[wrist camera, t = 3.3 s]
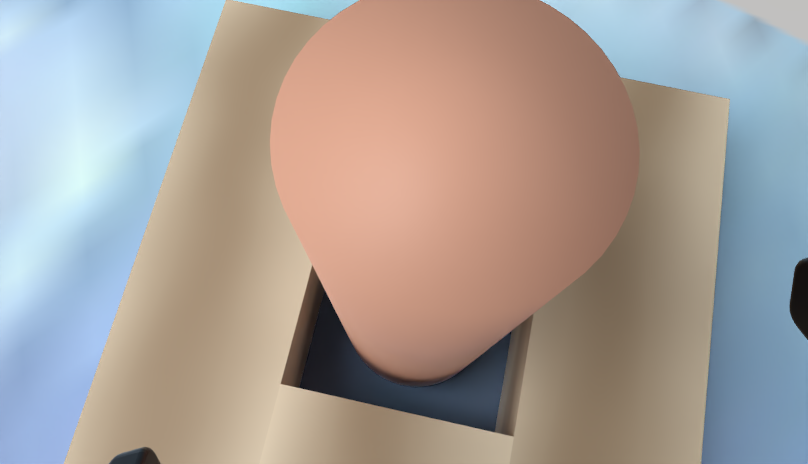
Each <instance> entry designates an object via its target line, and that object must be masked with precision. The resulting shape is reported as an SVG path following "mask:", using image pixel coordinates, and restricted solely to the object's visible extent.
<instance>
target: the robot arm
mask: <svg viewBox="0 0 808 464" xmlns="http://www.w3.org/2000/svg"><path fill="white" fill-rule="evenodd" d="M790 313H791V317H792V319H793V321H794V323H795V324H796V326H797V327H798V328H799V329H800V331H801V332H802V333H803V335H804V336H805V337H806V338H807V340H808V258H805V259H802V260H801V261H799V262H798V264H797V265H796V267H795V271H794V278H793V285H792V292H791V299H790ZM109 464H161V463H160V461H159V459H158V457H157V455H156V454H155V452H154V451H153V450H152V449H151V448H149V447H141V448H138V449H134V450H131V451H127V452H124V453H120V454H118V455H116V456H115V457H114V458H113V459H112V460H111V461H110V463H109Z"/></svg>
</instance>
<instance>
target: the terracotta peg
mask: <svg viewBox="0 0 808 464" xmlns="http://www.w3.org/2000/svg"><path fill="white" fill-rule="evenodd" d="M270 154H271V166H272V171H273V175H274V180H275V185H276V188H277V191H278V194H279V197H280V200H281V202H282V205H283V208H284V210H285V212H286V214H287V216H288V218H289V220H290V222H291V224H292V226H293V228H294V230H295V232H296V234H297V236H298V238H299V240H300V242H301V244H302V246H303V248H304V250H305V252H306V254H307V255H308V257H309V259H310V261H311V263H312V265H313V267H314V269H315V271H316V273H317V275H318V277H319V279H320V281H321V283H322V285H323V287H324V289H325V291H326V293H327V295H328V297H329V299H330V301H331V303H332V305H333V307H334V309H335V311H336V313H337V315H338V317H339V319H340V321H341V323H342V325H343V327H344V329H345V331H346V333H347V335H348V337H349V339H350V341H351V343H352V345H353V346H354V348H355V350H356V352H357V354H358V355H359V357H360V358H361V359H362V361H363V362H364V363H365V364H366V365H367V366H368V367H369V368H370V369H371V370H372V371H373V372H375V373H376V374H377V375H379V376H381V377H382V378H384V379H386V380H388V381H391V382H393V383H396V384H400V385H404V386H411V387H422V386H430V385H434V384H438V383H441V382H443V381H446V380H448V379H450V378H451V377H453V376H455V375H456V374H458V373H459V372H460V371H461V370H463V369H464V368H465V367H467V366H468V365H469V364H470V363H472V362H473V361H474V360H475V359H477V358H478V357H479V356H480V355H482V354H483V353H484V352H486V351H487V350H488V349H489V348H491V347H492V346H493V345H494V344H496V343H497V342H498V341H499V340H501V339H502V338H503V337H504V336H506V335H507V334H508V333H510V332H511V331H512V330H513V329H515V328H516V327H517V326H518V325H520V324H521V323H522V322H523V321H525V320H526V319H527V318H528V317H530V316H531V315H532V314H534V313H535V312H536V311H537V310H539V309H540V308H541V307H542V306H544V305H545V304H546V303H547V302H549V301H550V300H551V299H552V298H554V297H555V296H556V295H558V294H559V293H560V292H561V291H563V290H564V289H565V288H566V287H568V286H569V285H570V284H571V283H573V282H574V281H575V280H576V279H578V278H579V277H580V276H582V275H583V274H584V273H585V272H586V271H587V270H588V269H589V268H590V267H591V266H592V265H593V264H594V263H595V262H596V261H597V260H598V259H599V258H600V257H601V256H602V255H603V253H604V252H605V251H606V249H607V248H608V247H609V245H610V244H611V242H612V241H613V240H614V238H615V237H616V235H617V233H618V232H619V230H620V228H621V226H622V224H623V222H624V220H625V218H626V216H627V214H628V211H629V208H630V205H631V202H632V200H633V197H634V194H635V188H636V183H637V178H638V173H639V154H640V148H639V137H638V127H637V123H636V119H635V115H634V111H633V106H632V104H631V101H630V99H629V96H628V93H627V91H626V88H625V86H624V84H623V82H622V80H621V78H620V77H619V75H618V73H617V71H616V69H615V67H614V66H613V64H612V63H611V62H610V60H609V59H608V58H607V56H606V55H605V53H604V52H603V51H602V49H601V48H600V47H599V46H598V45H597V44H596V43H595V42H594V41H593V40H592V38H591V37H590V36H589V35H588V34H587V33H586V32H585V31H584V30H582V29H581V28H580V27H579V26H578V25H576V24H575V23H574V22H573V21H572V20H571V19H569V18H568V17H566V16H565V15H563V14H562V13H560V12H559V11H557V10H556V9H554V8H553V7H551V6H550V5H548V4H546V3H544V2H542V1H540V0H359V1H357V2H356V3H354V4H353V5H351V6H349V7H348V8H346V9H344V10H343V11H341V12H340V13H338V14H337V15H336V16H335V17H333V18H332V19H331V20H330V21H328V22H327V23H326V24H324V25H323V26H322V27H321V28H320V29H319V30H318V31H317V32H316V33H315V34H314V35H313V36H312V37H311V39H310V40H309V41H308V42H307V43H306V44H305V46H304V47H303V48H302V50H301V51H300V52H299V54H298V55H297V56H296V58H295V59H294V61H293V63H292V65H291V67H290V68H289V70H288V72H287V74H286V76H285V77H284V80H283V83H282V85H281V88H280V90H279V93H278V96H277V98H276V103H275V107H274V111H273V116H272V121H271V133H270Z"/></svg>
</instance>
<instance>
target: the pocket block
mask: <svg viewBox="0 0 808 464" xmlns="http://www.w3.org/2000/svg"><path fill="white" fill-rule="evenodd" d="M328 21H330V20H328V19H323V18H318V17H313V16H308V15H303V14H298V13H293V12H288V11H283V10H278V9H273V8H268V7H263V6H258V5H253V4H248V3H243V2H238V1H233V0H226V2H225V4H224V7H223V10H222V13H221V16H220V19H219V22H218V25H217V27H216V30H215V33H214V36H213V39H212V42H211V45H210V47H209V50H208V53H207V56H206V59H205V62H204V65H203V67H202V70H201V73H200V76H199V79H198V82H197V85H196V87H195V90H194V93H193V96H192V99H191V102H190V105H189V107H188V110H187V113H186V116H185V119H184V122H183V125H182V127H181V130H180V133H179V136H178V139H177V142H176V145H175V147H174V150H173V153H172V156H171V159H170V162H169V165H168V167H167V170H166V173H165V176H164V179H163V182H162V185H161V187H160V190H159V193H158V196H157V199H156V202H155V205H154V207H153V210H152V213H151V216H150V219H149V222H148V225H147V227H146V230H145V233H144V236H143V239H142V242H141V245H140V247H139V250H138V253H137V256H136V259H135V262H134V265H133V267H132V270H131V273H130V276H129V279H128V282H127V285H126V287H125V290H124V293H123V296H122V299H121V302H120V305H119V307H118V310H117V313H116V316H115V319H114V322H113V325H112V327H111V330H110V333H109V336H108V339H107V342H106V345H105V348H104V350H103V353H102V356H101V359H100V362H99V365H98V368H97V370H96V373H95V376H94V379H93V382H92V385H91V388H90V390H89V393H88V396H87V399H86V402H85V405H84V408H83V410H82V413H81V416H80V419H79V422H78V425H77V428H76V430H75V433H74V436H73V439H72V442H71V445H70V448H69V450H68V453H67V456H66V459H65V462H64V464H109V463H110V461H111V460H112V459H113V458H114V457H115V456H116V455H118V454H120V453H124V452H127V451H131V450H134V449H138V448H141V447H149V448H151V449H152V450H153V451H154V452H155V454H156V455H157V457H158V459H159V461H160V463H161V464H701V458H702V445H703V432H704V420H705V407H706V394H707V382H708V369H709V356H710V344H711V331H712V318H713V306H714V293H715V280H716V268H717V255H718V242H719V230H720V217H721V204H722V192H723V179H724V166H725V154H726V141H727V128H728V116H729V103H730V99H726V98H721V97H716V96H711V95H706V94H701V93H696V92H691V91H686V90H681V89H676V88H671V87H666V86H661V85H656V84H651V83H646V82H641V81H636V80H631V79H626V78H621V77H620V78H621V80H622V82H623V84H624V86H625V88H626V91H627V93H628V96H629V99H630V101H631V104H632V106H633V111H634V115H635V119H636V123H637V127H638V137H639V148H640V154H639V173H638V178H637V183H636V188H635V194H634V197H633V200H632V202H631V205H630V208H629V211H628V214H627V216H626V218H625V220H624V222H623V224H622V226H621V228H620V230H619V232H618V233H617V235H616V237H615V238H614V240H613V241H612V242H611V244H610V245H609V247H608V248H607V249H606V251H605V252H604V253H603V255H602V256H601V257H600V258H599V259H598V260H597V261H596V262H595V263H594V264H593V265H592V266H591V267H590V268H589V269H588V270H587V271H586V272H585V273H584V274H583V275H582V276H580V277H579V278H578V279H576V280H575V281H574V282H573V283H571V284H570V285H569V286H568V287H566V288H565V289H564V290H563V291H561V292H560V293H559V294H558V295H556V296H555V297H554V298H552V299H551V300H550V301H549V302H547V303H546V304H545V305H544V306H542V307H541V308H540V309H539V310H537V311H536V312H535V313H534V314H532V315H531V316H530V317H528V318H527V319H526V320H525V321H523V322H522V323H521V324H520V325H518V326H517V327H516V328H515V329H513V330H512V332H511V338H510V344H509V350H508V356H507V362H506V367H505V373H504V379H503V385H502V391H501V397H500V403H499V409H498V415H497V421H496V427H495V432H491V431H486V430H482V429H477V428H473V427H469V426H464V425H460V424H455V423H451V422H447V421H442V420H438V419H433V418H429V417H425V416H420V415H416V414H411V413H407V412H402V411H398V410H394V409H389V408H385V407H380V406H376V405H372V404H367V403H363V402H358V401H354V400H349V399H345V398H341V397H336V396H332V395H327V394H323V393H319V392H314V391H310V390H305V389H301V388H300V384H301V380H302V376H303V372H304V368H305V364H306V361H307V357H308V353H309V349H310V345H311V341H312V337H313V333H314V330H315V326H316V322H317V318H318V314H319V310H320V306H321V302H322V299H323V295H324V291H325V289H324V287H323V285H322V283H321V281H320V279H319V277H318V275H317V273H316V271H315V269H314V267H313V265H312V263H311V261H310V259H309V257H308V255H307V254H306V252H305V250H304V248H303V246H302V244H301V242H300V240H299V238H298V236H297V234H296V232H295V230H294V228H293V226H292V224H291V222H290V220H289V218H288V216H287V214H286V212H285V210H284V208H283V205H282V202H281V200H280V197H279V194H278V191H277V188H276V185H275V180H274V175H273V171H272V166H271V154H270V133H271V121H272V116H273V111H274V107H275V103H276V98H277V96H278V93H279V90H280V88H281V85H282V83H283V80H284V77H285V76H286V74H287V72H288V70H289V68H290V67H291V65H292V63H293V61H294V59H295V58H296V56H297V55H298V54H299V52H300V51H301V50H302V48H303V47H304V46H305V44H306V43H307V42H308V41H309V40H310V39H311V37H312V36H313V35H314V34H315V33H316V32H317V31H318V30H319V29H320V28H321V27H322V26H323V25H324V24H326V23H327V22H328Z"/></svg>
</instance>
